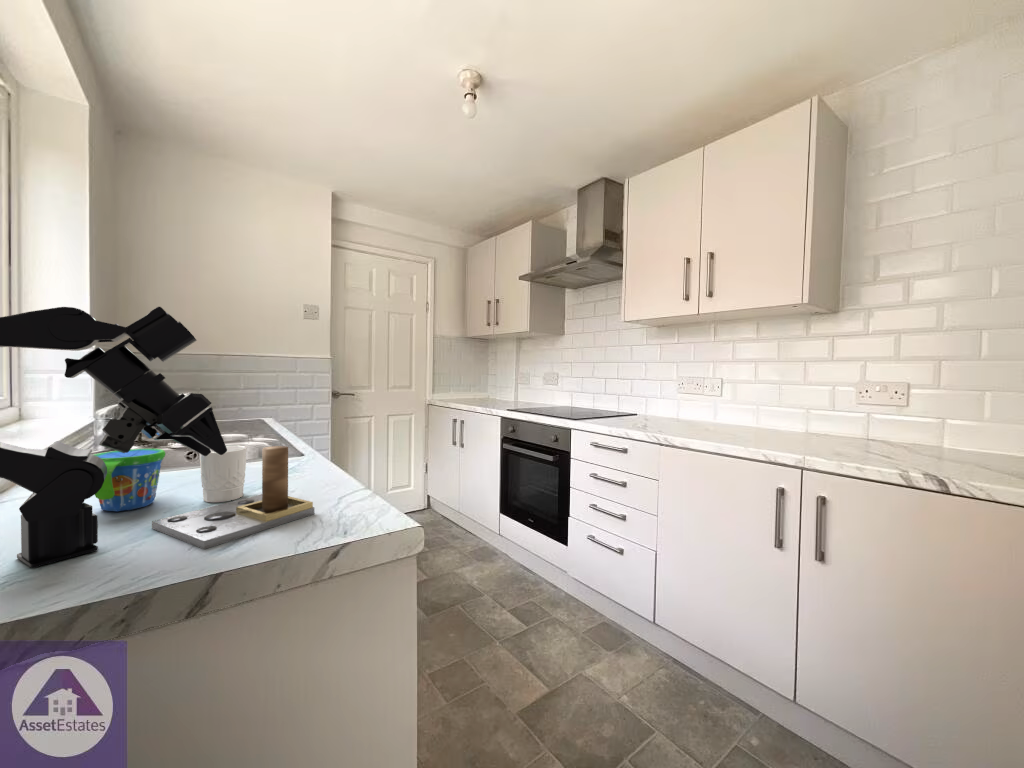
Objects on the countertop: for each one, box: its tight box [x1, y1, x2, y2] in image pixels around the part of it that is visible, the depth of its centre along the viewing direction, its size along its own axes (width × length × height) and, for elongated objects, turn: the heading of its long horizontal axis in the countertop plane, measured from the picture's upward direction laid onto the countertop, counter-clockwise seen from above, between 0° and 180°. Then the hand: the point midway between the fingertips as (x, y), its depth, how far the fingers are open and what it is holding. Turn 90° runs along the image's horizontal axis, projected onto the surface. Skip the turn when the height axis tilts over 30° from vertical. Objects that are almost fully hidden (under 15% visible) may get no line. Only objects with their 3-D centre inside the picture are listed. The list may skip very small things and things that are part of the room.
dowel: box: [261, 445, 289, 513], centre depth 75 cm, size 4×4×11 cm
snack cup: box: [93, 448, 166, 512], centre depth 80 cm, size 16×10×10 cm
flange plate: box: [151, 493, 315, 550], centre depth 73 cm, size 18×16×2 cm
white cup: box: [199, 445, 248, 504], centre depth 86 cm, size 8×8×10 cm
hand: (216, 453), depth 70 cm, fingers open, 9 cm apart
